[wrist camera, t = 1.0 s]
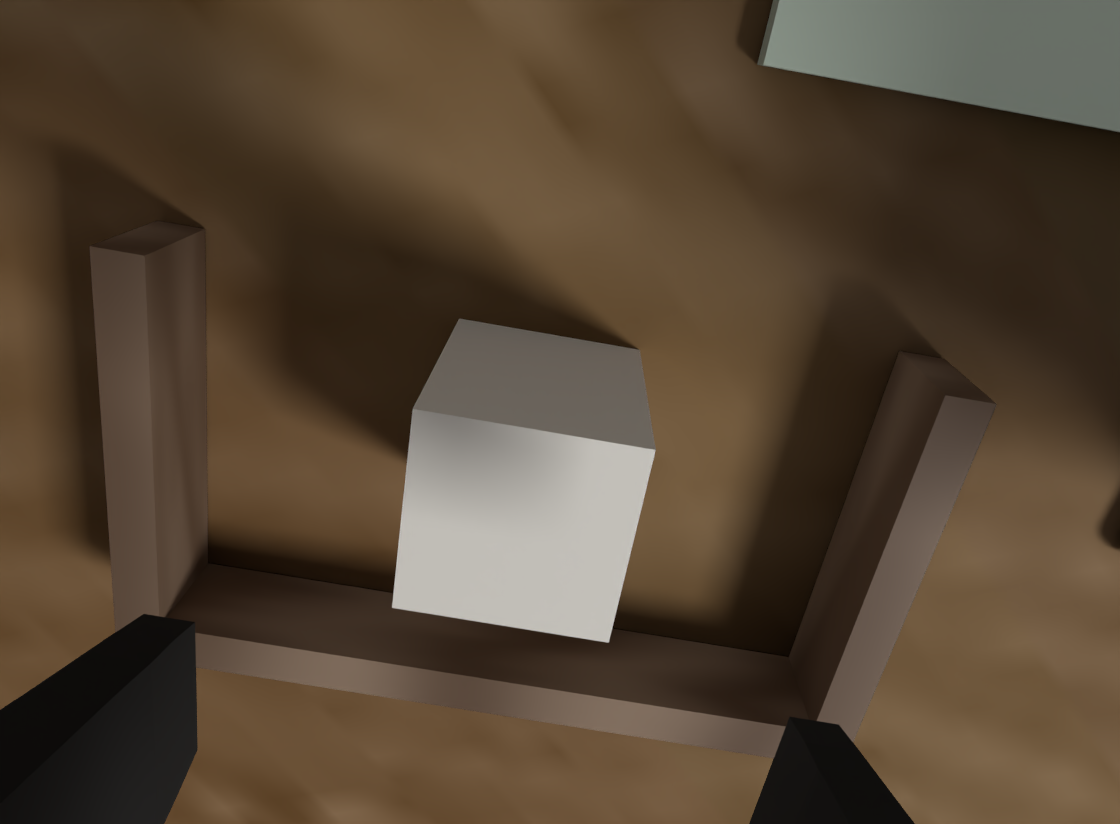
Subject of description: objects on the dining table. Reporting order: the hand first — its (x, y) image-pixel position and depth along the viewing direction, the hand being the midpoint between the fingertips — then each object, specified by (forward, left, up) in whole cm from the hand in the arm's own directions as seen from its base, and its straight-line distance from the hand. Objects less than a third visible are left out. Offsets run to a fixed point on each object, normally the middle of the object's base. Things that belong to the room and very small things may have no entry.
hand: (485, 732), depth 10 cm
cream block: (0, 0, -10) cm, 10 cm away
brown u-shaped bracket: (0, +2, -9) cm, 10 cm away
